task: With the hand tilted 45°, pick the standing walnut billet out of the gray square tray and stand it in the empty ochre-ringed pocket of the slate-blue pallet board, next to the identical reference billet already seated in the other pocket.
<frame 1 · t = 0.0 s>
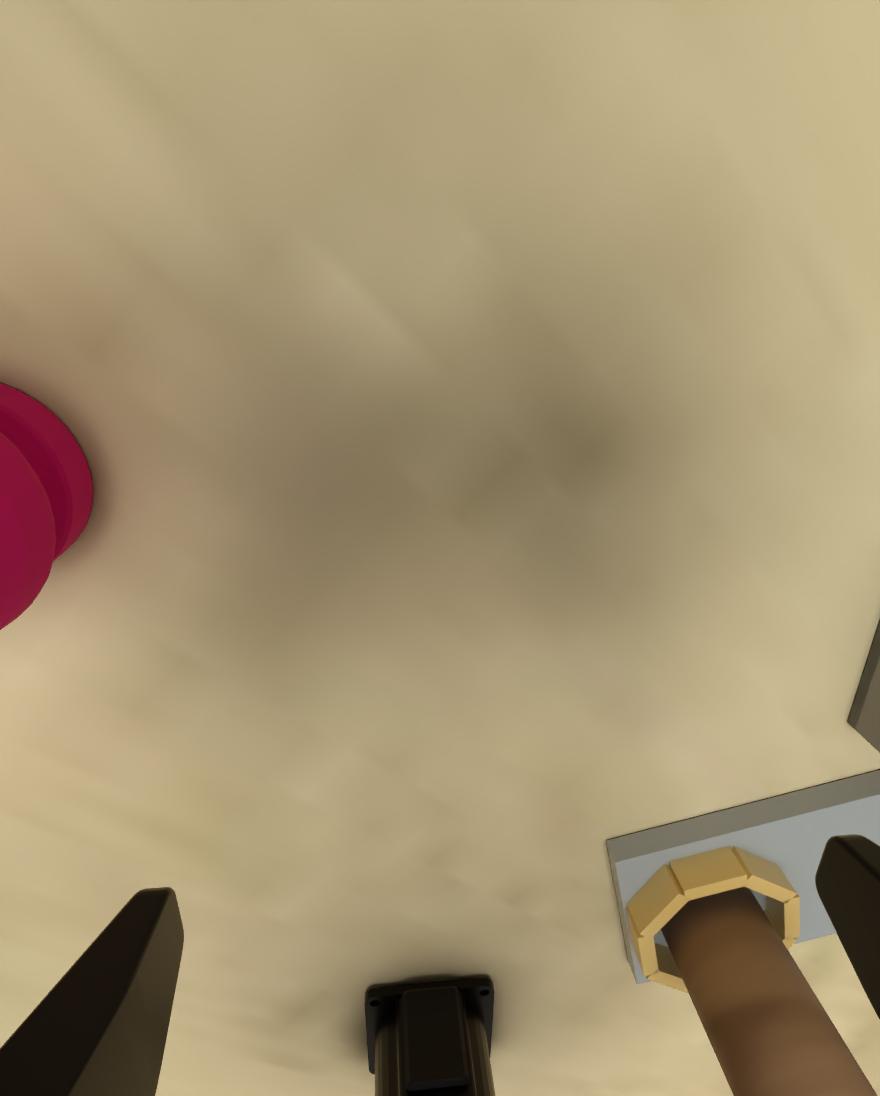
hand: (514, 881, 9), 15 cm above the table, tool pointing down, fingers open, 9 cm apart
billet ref: (704, 907, 30), point 1 cm above the table, touching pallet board
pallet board: (834, 848, 31), on the table
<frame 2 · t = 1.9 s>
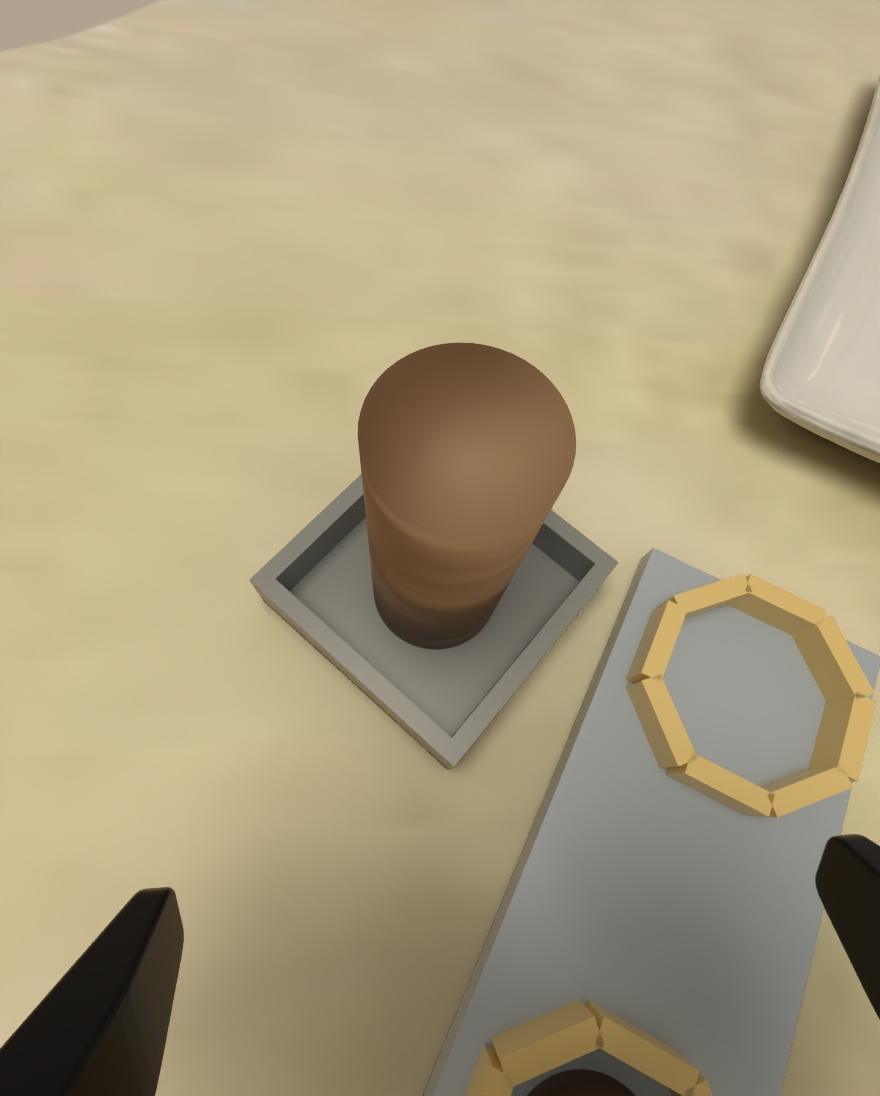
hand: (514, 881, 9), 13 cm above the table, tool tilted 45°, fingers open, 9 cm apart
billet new: (435, 588, 23), resting on gray square tray
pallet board: (655, 896, 21), on the table
gray square tray: (434, 592, 24), on the table
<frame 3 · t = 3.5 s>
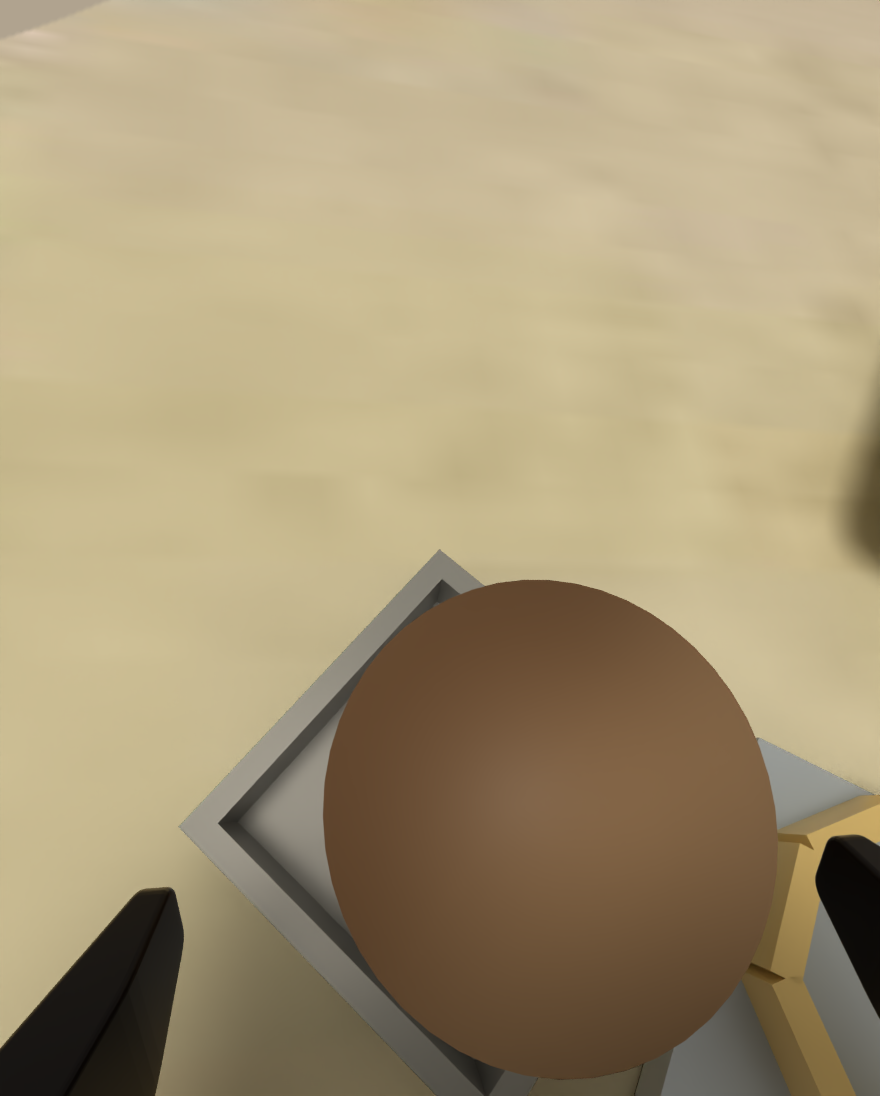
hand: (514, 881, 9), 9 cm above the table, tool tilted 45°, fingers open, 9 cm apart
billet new: (453, 802, 16), resting on gray square tray
gray square tray: (451, 802, 17), on the table
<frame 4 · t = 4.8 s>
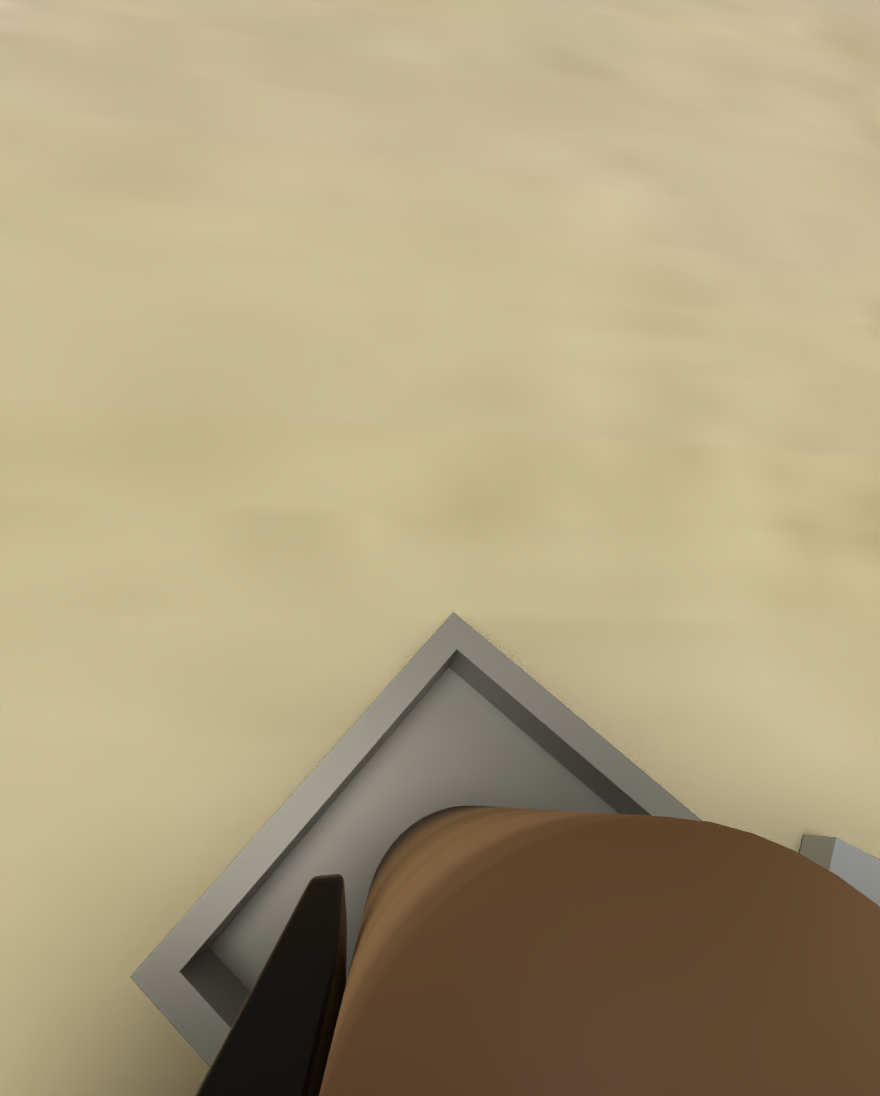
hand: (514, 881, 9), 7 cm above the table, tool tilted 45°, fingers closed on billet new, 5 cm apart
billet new: (470, 919, 14), point 1 cm above the table, touching gripper, gray square tray
gray square tray: (467, 915, 14), on the table
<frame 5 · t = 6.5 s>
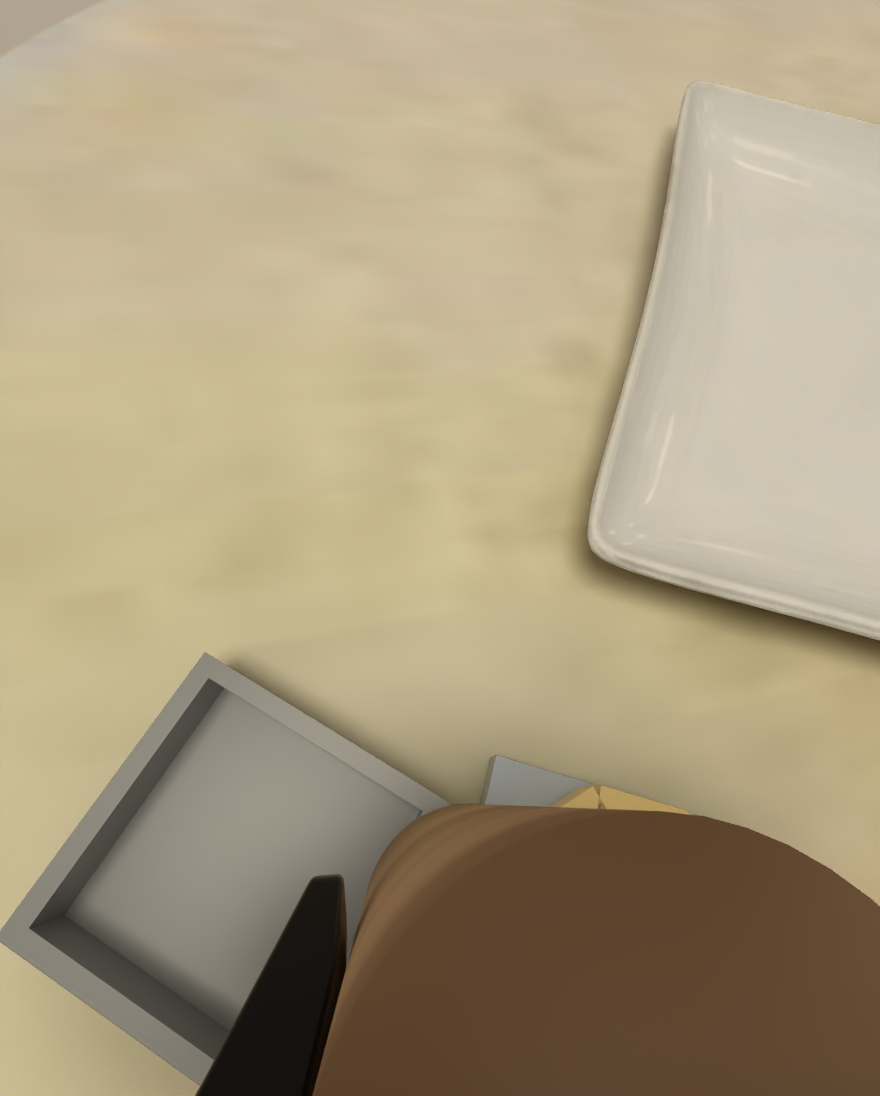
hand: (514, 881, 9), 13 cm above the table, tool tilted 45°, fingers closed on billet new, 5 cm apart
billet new: (468, 917, 14), point 7 cm above the table, touching gripper
gray square tray: (253, 858, 20), on the table
when the fingers open (8 cm above the table, at t = 8.5 s): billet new stays where it is, resting on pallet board.
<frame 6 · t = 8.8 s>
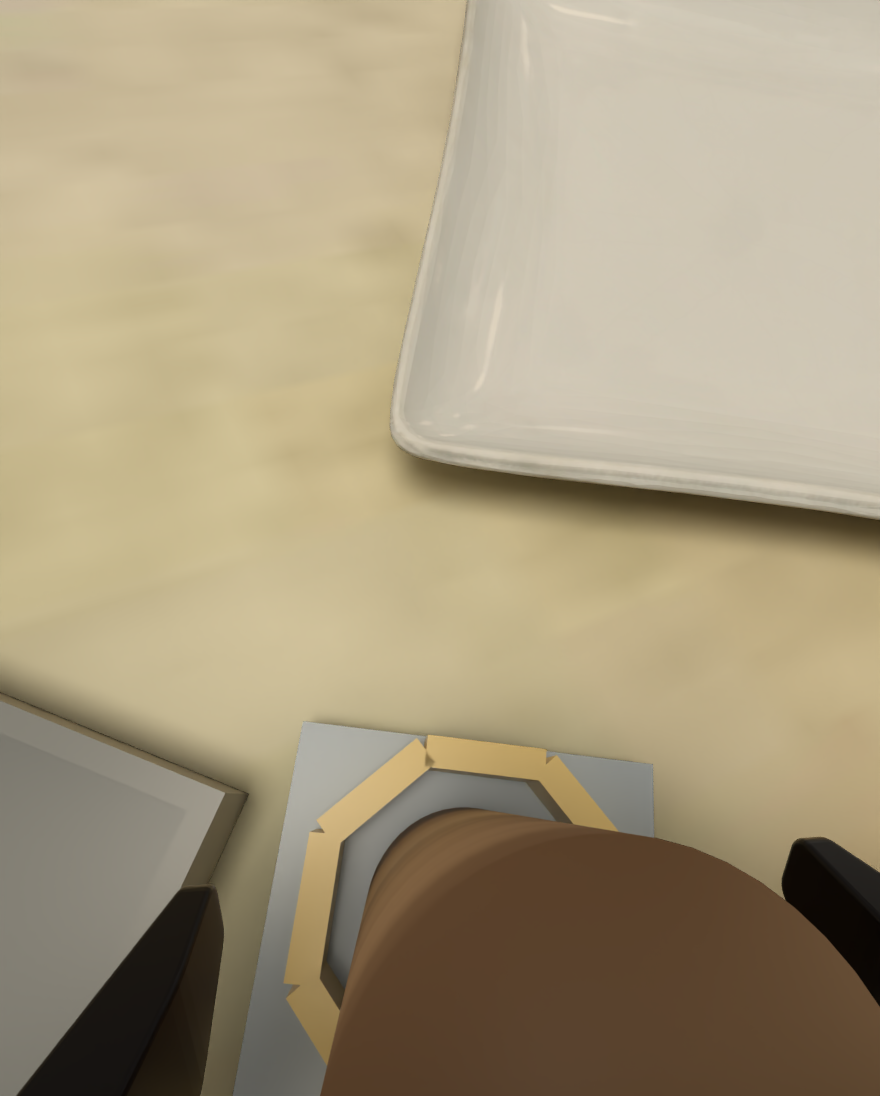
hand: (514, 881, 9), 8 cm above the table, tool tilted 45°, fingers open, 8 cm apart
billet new: (464, 914, 15), point 1 cm above the table, touching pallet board
square plate: (763, 257, 26), on the table
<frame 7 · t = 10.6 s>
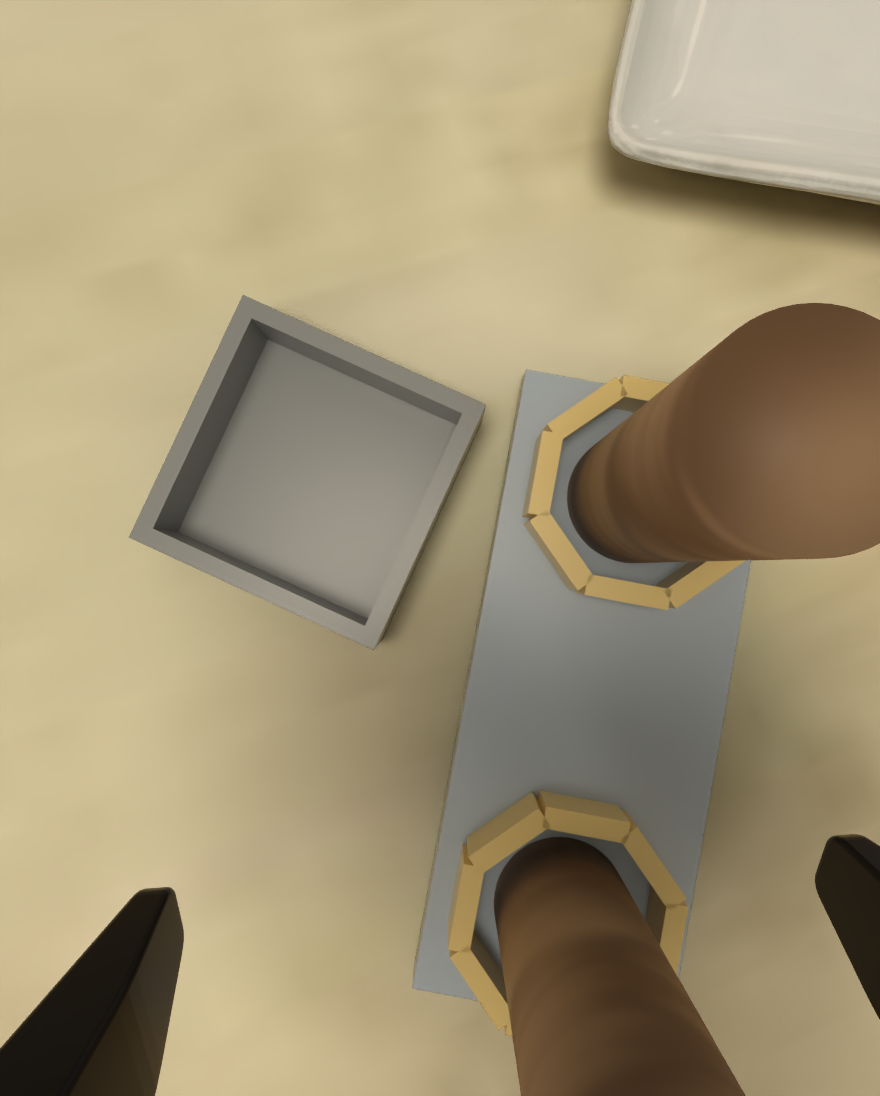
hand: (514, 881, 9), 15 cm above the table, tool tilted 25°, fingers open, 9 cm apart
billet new: (632, 498, 22), point 1 cm above the table, touching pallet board
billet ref: (559, 903, 22), point 1 cm above the table, touching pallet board
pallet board: (588, 691, 23), on the table
gray square tray: (322, 481, 24), on the table
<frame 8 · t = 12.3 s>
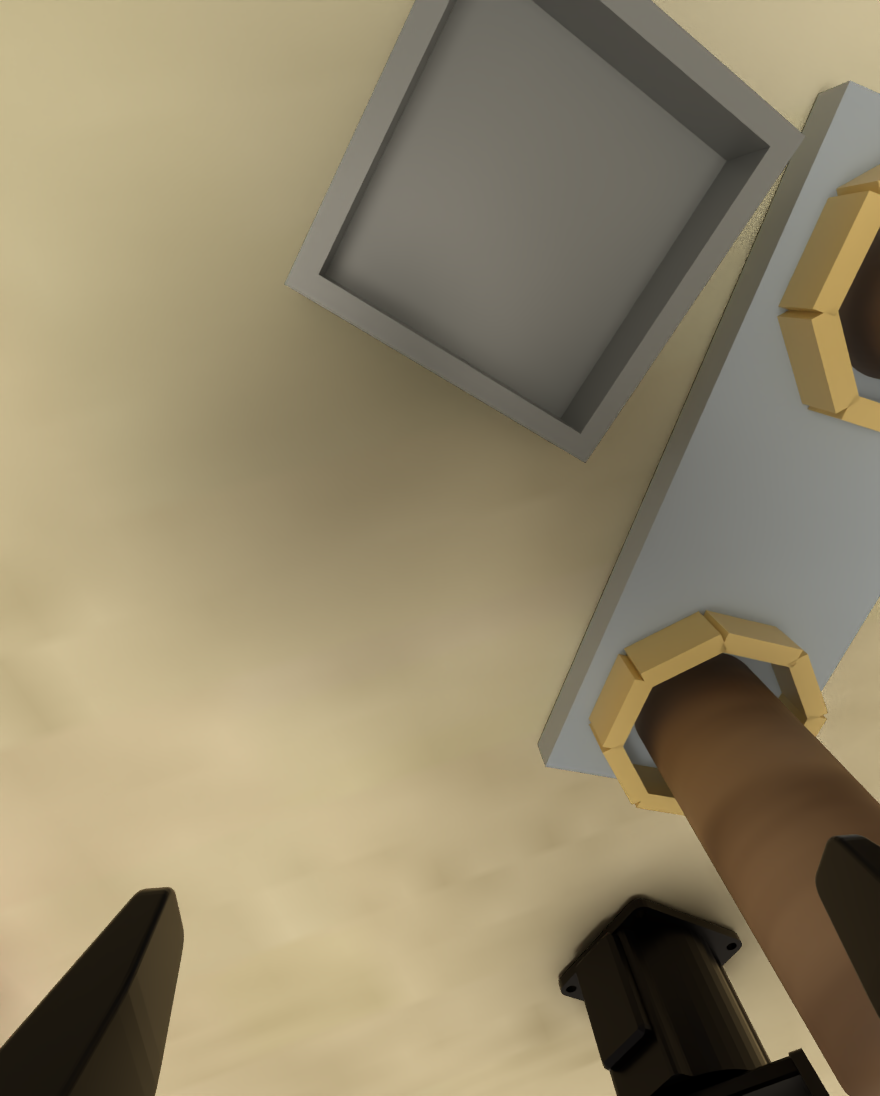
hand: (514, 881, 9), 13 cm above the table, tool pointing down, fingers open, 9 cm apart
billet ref: (695, 705, 23), point 1 cm above the table, touching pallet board
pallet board: (769, 513, 21), on the table
gray square tray: (520, 219, 17), on the table
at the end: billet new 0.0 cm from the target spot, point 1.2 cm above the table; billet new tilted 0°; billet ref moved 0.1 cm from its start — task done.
